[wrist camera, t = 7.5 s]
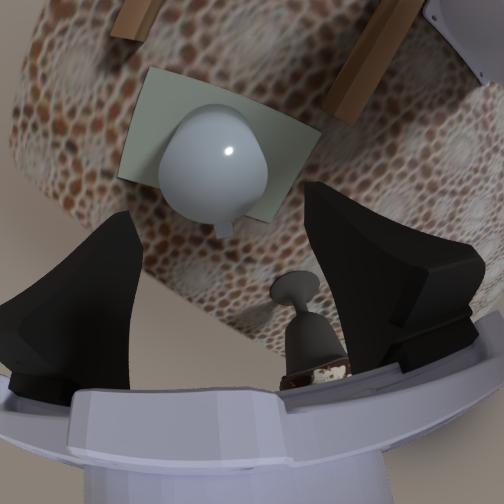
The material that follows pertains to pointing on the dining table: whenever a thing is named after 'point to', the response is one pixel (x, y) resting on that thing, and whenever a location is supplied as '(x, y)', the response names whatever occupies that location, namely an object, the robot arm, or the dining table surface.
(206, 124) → the grey rounded cylinder
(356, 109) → the wooden frame
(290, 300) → the sundae
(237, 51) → the dining table surface
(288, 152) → the mat
